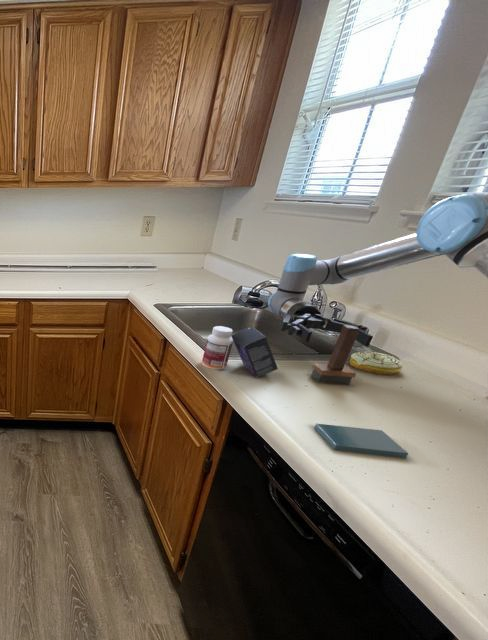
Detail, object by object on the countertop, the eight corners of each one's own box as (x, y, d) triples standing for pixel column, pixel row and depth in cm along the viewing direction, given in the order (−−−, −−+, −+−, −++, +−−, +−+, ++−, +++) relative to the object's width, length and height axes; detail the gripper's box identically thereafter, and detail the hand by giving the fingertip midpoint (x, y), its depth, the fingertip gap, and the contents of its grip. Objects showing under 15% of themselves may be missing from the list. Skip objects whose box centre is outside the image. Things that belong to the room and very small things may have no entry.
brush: (340, 379, 109) (363, 325, 103) (350, 387, 105) (375, 331, 99) (308, 376, 111) (329, 322, 104) (316, 384, 107) (339, 328, 100)
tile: (378, 436, 85) (381, 430, 85) (405, 459, 78) (408, 453, 78) (313, 429, 88) (315, 423, 87) (333, 451, 81) (336, 445, 80)
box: (243, 366, 116) (230, 334, 113) (264, 357, 114) (251, 324, 111) (256, 378, 109) (242, 345, 106) (279, 369, 107) (265, 335, 104)
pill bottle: (212, 360, 120) (222, 324, 115) (230, 368, 115) (241, 331, 110) (196, 363, 118) (205, 326, 113) (213, 372, 113) (224, 333, 108)
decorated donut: (343, 358, 122) (348, 346, 120) (390, 365, 118) (395, 352, 116) (353, 372, 113) (358, 359, 112) (404, 379, 109) (410, 366, 107)
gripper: (342, 329, 124) (388, 356, 105) (251, 323, 128) (279, 348, 110) (352, 304, 121) (401, 328, 102) (258, 299, 125) (289, 321, 106)
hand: (338, 339), depth 106 cm, fingers open, 13 cm apart
